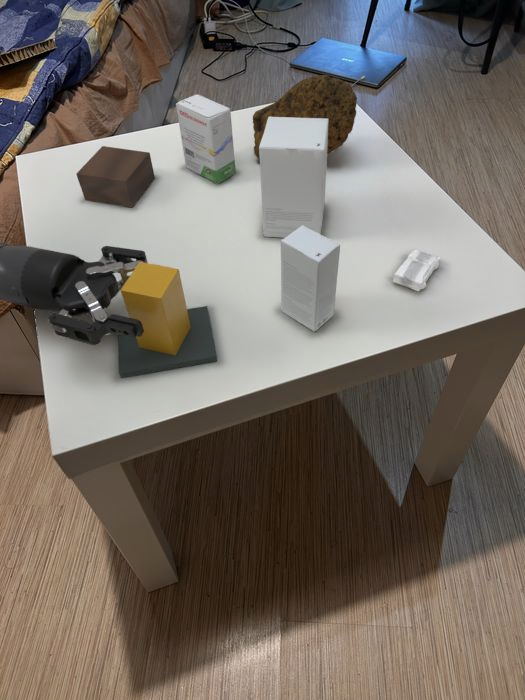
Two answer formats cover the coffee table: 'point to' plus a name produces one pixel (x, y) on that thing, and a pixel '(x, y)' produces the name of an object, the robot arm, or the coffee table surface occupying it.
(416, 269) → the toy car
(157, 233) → the coffee table surface
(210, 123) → the ink box
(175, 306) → the mustard block
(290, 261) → the cosmetic box
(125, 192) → the walnut block
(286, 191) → the rectangular carton
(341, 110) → the rock
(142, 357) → the rubber mat
